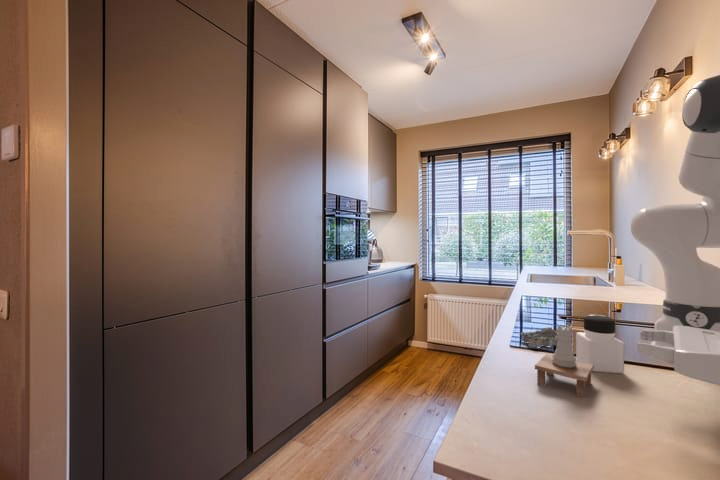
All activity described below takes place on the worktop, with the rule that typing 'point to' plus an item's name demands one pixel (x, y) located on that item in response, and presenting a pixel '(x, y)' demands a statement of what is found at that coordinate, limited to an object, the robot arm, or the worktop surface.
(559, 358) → the rook chess piece
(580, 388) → the footstool
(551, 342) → the mossy rock
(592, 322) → the medicine bottle
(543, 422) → the worktop surface
